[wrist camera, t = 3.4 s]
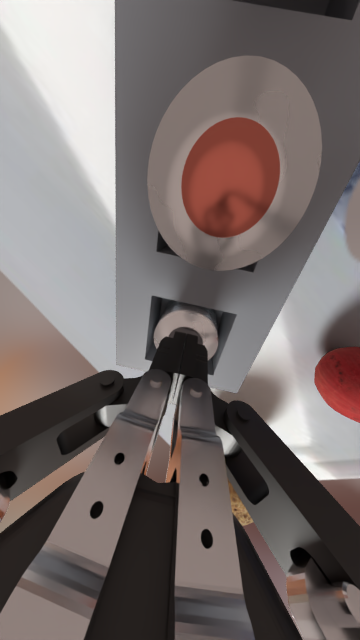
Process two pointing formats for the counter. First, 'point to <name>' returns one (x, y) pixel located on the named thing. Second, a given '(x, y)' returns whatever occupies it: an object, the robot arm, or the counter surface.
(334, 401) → the onion
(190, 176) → the knob mid
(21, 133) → the counter surface
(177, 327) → the knob
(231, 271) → the mount
